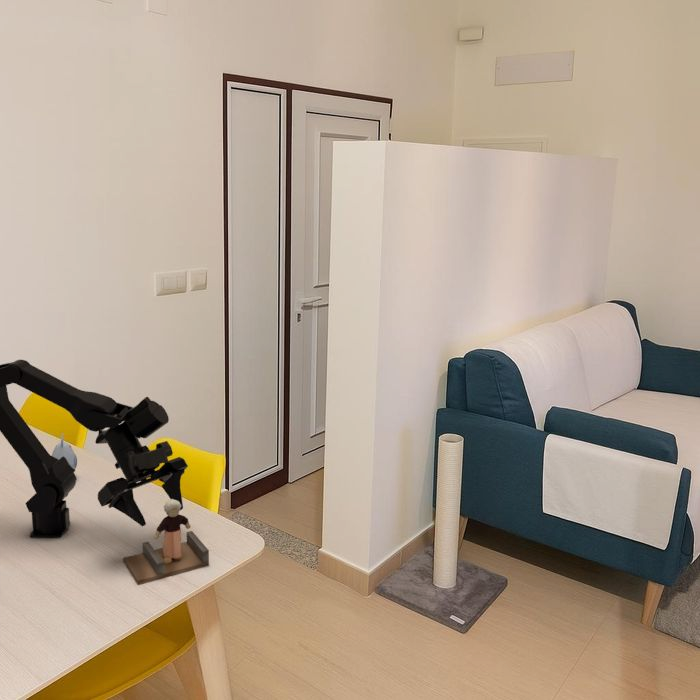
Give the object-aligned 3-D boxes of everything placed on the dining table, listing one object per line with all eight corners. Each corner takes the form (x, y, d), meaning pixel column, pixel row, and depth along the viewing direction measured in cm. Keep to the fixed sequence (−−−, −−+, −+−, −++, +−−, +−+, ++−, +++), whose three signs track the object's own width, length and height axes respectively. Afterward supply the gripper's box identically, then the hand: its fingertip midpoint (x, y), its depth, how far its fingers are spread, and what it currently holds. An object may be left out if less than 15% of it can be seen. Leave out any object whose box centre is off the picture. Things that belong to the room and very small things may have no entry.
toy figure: (77, 488, 176) (75, 442, 173) (50, 491, 174) (47, 444, 171) (78, 471, 186) (76, 426, 183) (52, 473, 184) (49, 428, 181)
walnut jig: (138, 584, 138) (137, 568, 137) (123, 561, 145) (122, 546, 144) (208, 565, 145) (208, 550, 144) (191, 544, 153) (191, 529, 152)
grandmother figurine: (164, 568, 142) (162, 509, 139) (152, 561, 144) (150, 502, 141) (195, 553, 148) (194, 496, 145) (183, 547, 150) (182, 490, 147)
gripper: (104, 444, 137) (142, 516, 134) (181, 420, 152) (218, 484, 148) (81, 471, 144) (117, 540, 140) (158, 445, 158) (192, 508, 155)
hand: (163, 517), depth 146 cm, fingers open, 9 cm apart
